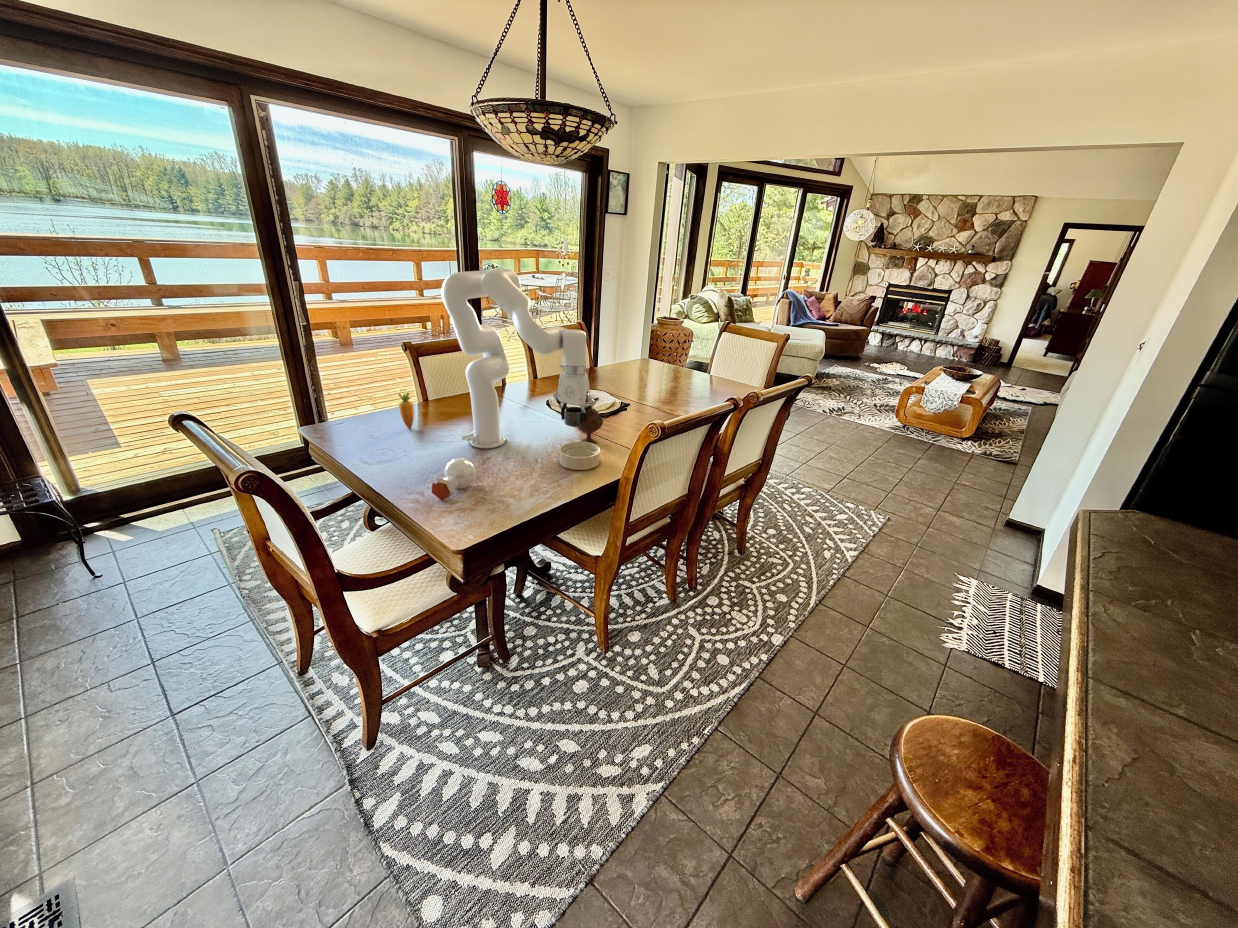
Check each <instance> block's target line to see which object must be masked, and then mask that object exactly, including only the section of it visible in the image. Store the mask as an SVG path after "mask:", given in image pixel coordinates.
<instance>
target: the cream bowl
mask: <svg viewBox="0 0 1238 928" xmlns="http://www.w3.org/2000/svg"><path fill="white" fill-rule="evenodd" d="M600 462H601V448H600V447H599V446H598V445H597V444H596V443H595V444H593V443H589V442H582V440H581V441H580V440H579V441H578V440H577V441H570V442H569V441H568V442H566V443H563V444H562V445H560V446H559V448H558V463H559V464H560V465H561V466H562V467H564V468H566V469H569V470H574V471H576V470H577V471H584V470H590V469H593V468H596V467H597V466H599V465H600Z"/></svg>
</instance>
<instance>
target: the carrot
mask: <svg viewBox="0 0 1238 928" xmlns="http://www.w3.org/2000/svg"><path fill="white" fill-rule="evenodd" d="M397 395H398V396H399V398H400V399H401V400H402V401H400V402H399V403H398V407H399V408H398V409H399V412H400V417H401V419H402V421H403V423H404V425H405V426H406V428H407V429H409V430H411V429H412V428H413V425H414V421H415V420H414V419H415V411H414V409H415V408H414V403H413V402H412V401H411V400H410V399H411V397H410V392H408V391H407V392H404V393H403V395H402V393H398V394H397Z"/></svg>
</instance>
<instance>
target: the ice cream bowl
mask: <svg viewBox="0 0 1238 928" xmlns="http://www.w3.org/2000/svg"><path fill="white" fill-rule="evenodd" d="M603 424H604V418H603V417H601V416H600V412H599V411H598V410H597V409H596V408H594V407H592V408H591V409H590V410H589V411H588V420H587V422H586V423H584V424H583V425H581V426H578V427H576V428H577V429H578V430H579V431H581V432H582V433H585V435H586V437H585V438H583V439H581V442H589V443H593V444H595V445H596V440H595V439H594V438H592V434H593V433H595V432H597V431H599V430H600V429H601V428H602V426H603Z"/></svg>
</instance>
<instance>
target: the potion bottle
mask: <svg viewBox="0 0 1238 928" xmlns="http://www.w3.org/2000/svg"><path fill="white" fill-rule="evenodd" d="M476 477H477V471H476V467H475V465H474V464H473V462H471V461H470V460H469V459H466V458H464V457H457V458H454V459H452V460H450V461H448V462H447V463H446V465H445V467H444V470H443V477H442V478H441V477H435V482H432V483H431V494H433V495H434V496H435V497H437V498H438V499H439V500H440V501H444V500H446V499H449V498H450V497H451V496H453V495H454V494H456V490H455V489H459V490H460V489H465V488H467V487H469V486H470V485H472V484H473V483H474V481H475V479H476Z"/></svg>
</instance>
